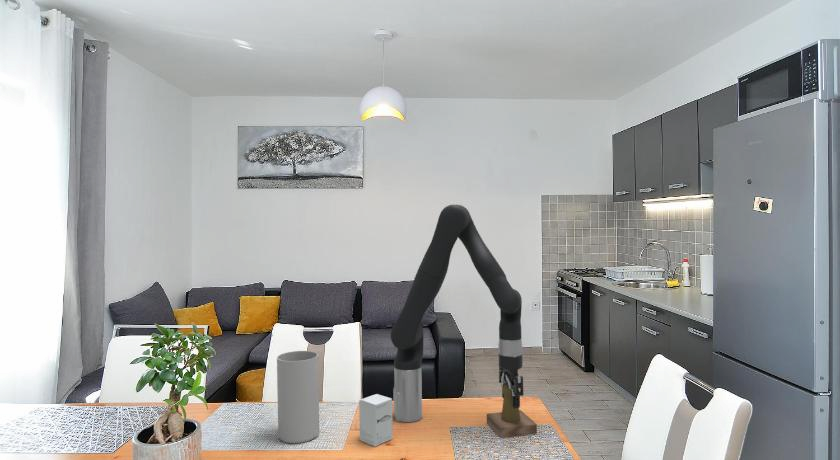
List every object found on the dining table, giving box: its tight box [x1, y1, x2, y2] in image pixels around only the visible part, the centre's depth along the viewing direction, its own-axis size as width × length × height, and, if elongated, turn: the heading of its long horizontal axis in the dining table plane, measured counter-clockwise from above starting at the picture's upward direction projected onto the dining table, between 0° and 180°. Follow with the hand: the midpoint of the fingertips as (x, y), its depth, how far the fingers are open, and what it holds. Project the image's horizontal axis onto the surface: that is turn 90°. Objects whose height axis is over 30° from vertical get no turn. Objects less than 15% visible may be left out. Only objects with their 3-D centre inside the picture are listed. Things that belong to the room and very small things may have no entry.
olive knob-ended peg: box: [501, 384, 520, 423], centre depth 162 cm, size 6×6×11 cm
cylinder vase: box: [276, 350, 320, 444], centre depth 159 cm, size 12×12×25 cm
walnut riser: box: [486, 409, 538, 439], centre depth 163 cm, size 12×12×3 cm
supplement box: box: [358, 393, 393, 448], centre depth 155 cm, size 7×7×13 cm
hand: (510, 402), depth 163 cm, fingers open, 8 cm apart
